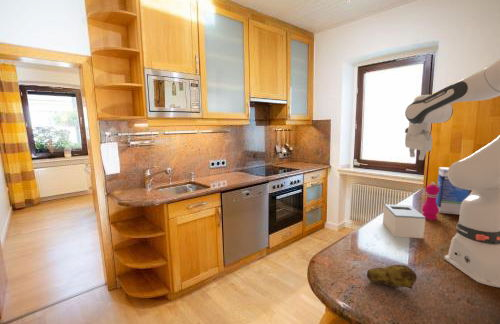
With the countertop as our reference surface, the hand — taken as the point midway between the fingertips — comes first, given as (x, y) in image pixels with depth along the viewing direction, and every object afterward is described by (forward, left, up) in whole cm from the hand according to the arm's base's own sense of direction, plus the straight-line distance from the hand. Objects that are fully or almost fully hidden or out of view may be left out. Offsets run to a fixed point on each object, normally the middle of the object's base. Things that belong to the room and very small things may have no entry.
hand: (416, 158), depth 121 cm
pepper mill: (+12, -14, -34) cm, 39 cm away
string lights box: (+24, -30, -34) cm, 52 cm away
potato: (-55, +27, -34) cm, 70 cm away
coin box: (-8, +7, -34) cm, 36 cm away
